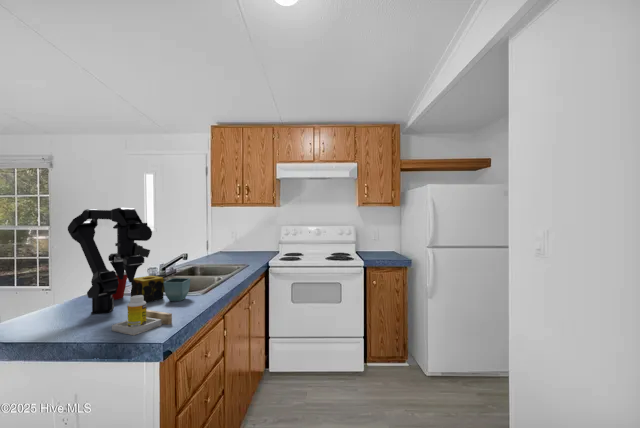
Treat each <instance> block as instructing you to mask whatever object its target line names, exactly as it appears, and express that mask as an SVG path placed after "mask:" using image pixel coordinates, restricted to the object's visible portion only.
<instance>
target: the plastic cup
mask: <svg viewBox="0 0 640 428" xmlns="http://www.w3.org/2000/svg"><path fill="white" fill-rule="evenodd" d="M115 273H116V271H115ZM116 276H117V278H118V279H117V280H118V282H119V284H118V288H117V292H116V294H112V298H114V301H115V300H121V299H123V298H124V295H125V290H126V286H127V281H128V278H127V275H126V272H125V271H124V277H123V279H121V280H120V279H119V277H118V275H117V273H116Z"/></svg>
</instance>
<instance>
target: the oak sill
mask: <svg viewBox="0 0 640 428" xmlns="http://www.w3.org/2000/svg"><path fill="white" fill-rule="evenodd" d="M146 317H149V318H155V319H161V325H171V324H172V323H173V313H170V312H164V311H158V310H153V309H146Z"/></svg>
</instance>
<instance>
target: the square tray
mask: <svg viewBox="0 0 640 428" xmlns="http://www.w3.org/2000/svg"><path fill="white" fill-rule="evenodd" d="M161 326H162V324H161V319H155V318H149V317H146V324H144V325H141V326H138V327H136V328H133V327H128V319H126V320H124V321H120V322H117V323H115V324H111V332H114V333H120V334H125V335H130V336H136V335H138V334H142V333H145V332H148V331H150V330H153V329H155V328H157V327H161Z"/></svg>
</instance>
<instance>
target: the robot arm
mask: <svg viewBox="0 0 640 428" xmlns="http://www.w3.org/2000/svg"><path fill="white" fill-rule="evenodd" d="M88 220H90V221H88ZM99 220H109V221H112V222H114V223H116V224H115V225H114V226H113V227H112V228H113V230H115V229H116V234H117V236H116V237H117V238H116V240H117V241H116V242H115V243H114V245H115V247H117V249H116V250H117V251H116V252H117V253H116V252H115V253H110V254H109V255H108V261H109V264H111V267H112V268H113V269H114V270H109V269H108V268H107V266H106V264H105V261H104V259H103V257H102V255H101V253H100V250H99V248H98V245H97V244H96V241H95V238H94V237H95V235H96V230H95V229H96V228H97V226H98V225H99V223H98V221H99ZM67 232H68V234H69V235H70V237H71V239H73V240H74V241H75V242H77V243H79V245H80V248H81V250H82V252H83V255H84V256H85V257H84V258H85V259H86V262H87V264H88V266H89V268H90V271H91V274H92V276H91V277H92V278H91V281H90V282H91V286H90V288H89V289H88V290H87V292H86V295H87V298H89V299H91V312H90V314H91V315H94V314H95V315H96V314H106V313H111V312H112V310H113V309H115V300H114V298H112V294H116V292H117V288H118V284H119V282H118V280H117V279H118V278H117V276H116V273H117V275H118V277H119V279H120V280H121V279H123V277H124V272H126V275H127V281H128V282H129V283H131V282H133V280H134V278H136V277H135V276H136V274H137V270H138V268H140V267H141V266H143V264H144V263H145V258H149V255H150V253H151V249H148V248H144V246H143V245H138V243H137V242H138V241H141V242H143V241H144V242H146V241H149V240H150V239H151V238H152V236H153V231H152V229H151V227H150V226H148V222H143V221H142V219H141V217H140V216H139V214H138V212H137V211H136V209H135V208H134V207H116V208H112V209H96V208H95V209H94V208H92V209H91V208H90V209H89V208H87V209H84V210H83V211H82V212H81V214H79V215H78V216H76V217H75V218H73V219H72V220H71V222H70V223H69V225H68V226H67ZM135 241H137V242H135ZM115 272H116V273H115Z"/></svg>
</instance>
